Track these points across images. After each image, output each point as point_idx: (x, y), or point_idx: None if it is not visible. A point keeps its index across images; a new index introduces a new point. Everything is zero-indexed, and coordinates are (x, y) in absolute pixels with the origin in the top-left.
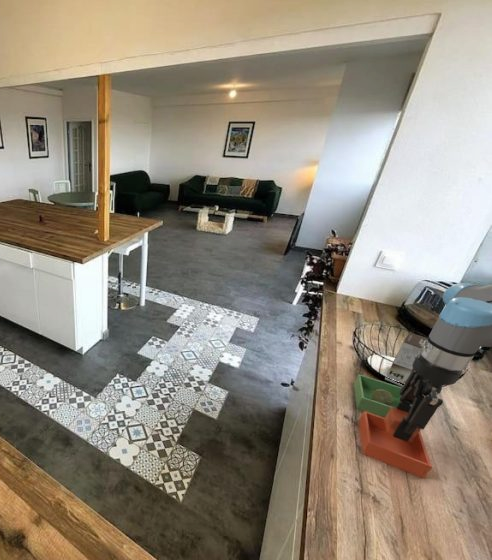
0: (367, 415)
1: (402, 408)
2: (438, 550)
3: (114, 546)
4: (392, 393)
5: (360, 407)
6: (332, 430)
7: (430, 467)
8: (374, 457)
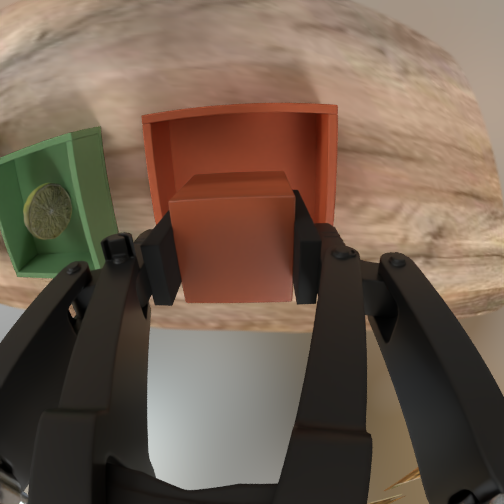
0: None
1: (175, 272)
2: (488, 145)
3: None
4: (11, 179)
5: None
6: (268, 308)
7: (336, 108)
8: None
